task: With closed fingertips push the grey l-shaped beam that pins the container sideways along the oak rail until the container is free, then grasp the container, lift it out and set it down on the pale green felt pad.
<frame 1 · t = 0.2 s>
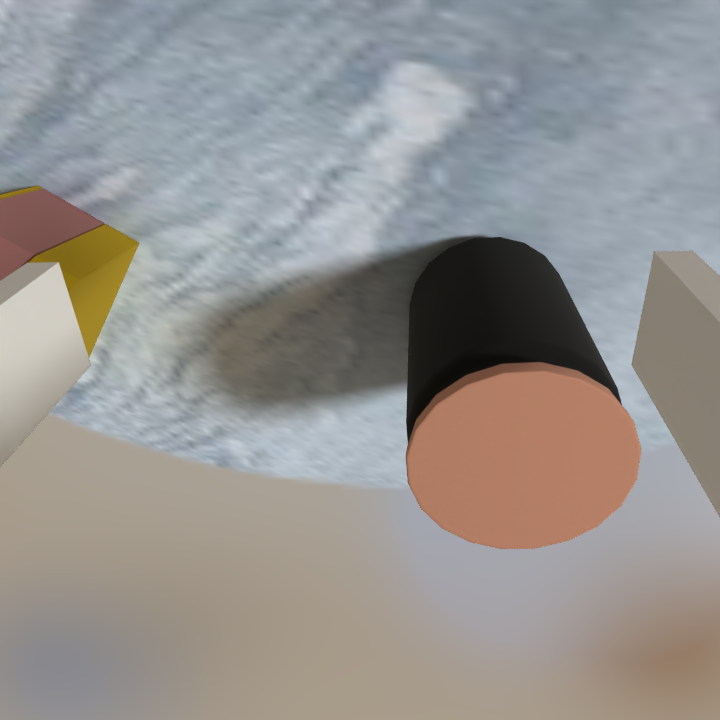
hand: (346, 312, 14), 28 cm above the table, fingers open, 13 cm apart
coffee jar: (484, 301, 44), on the table
alarm clock: (62, 274, 46), on the table
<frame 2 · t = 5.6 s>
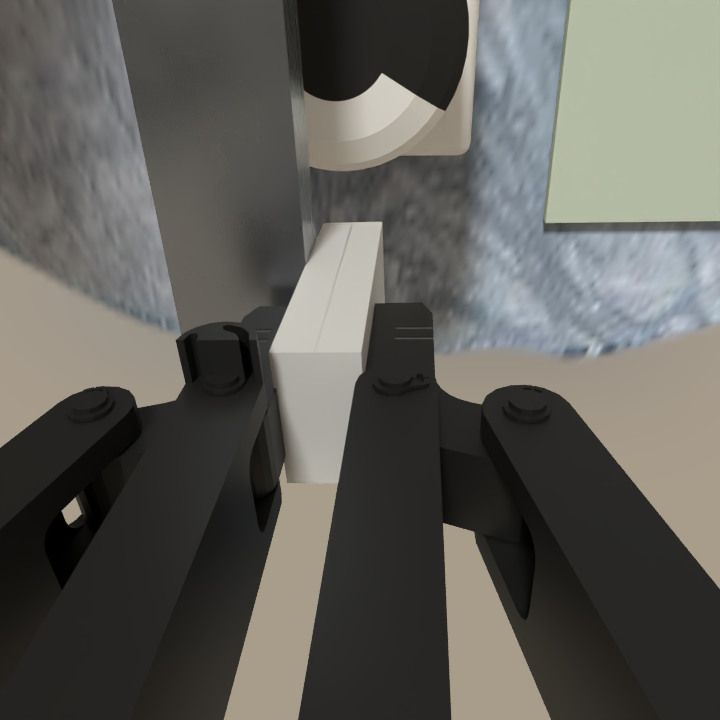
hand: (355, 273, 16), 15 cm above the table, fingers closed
pad: (674, 103, 26), on the table
grey l-shaped beam: (282, 22, 17), point 10 cm above the table, slide at 1.8 cm, touching gripper
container: (371, 23, 26), on the table
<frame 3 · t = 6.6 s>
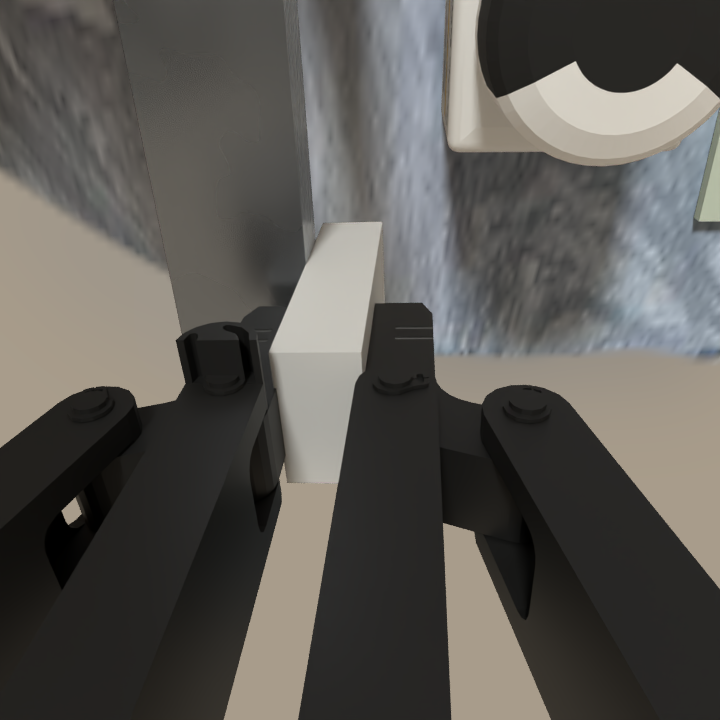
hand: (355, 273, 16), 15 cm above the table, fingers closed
grey l-shaped beam: (282, 23, 17), point 10 cm above the table, slide at 8.8 cm, touching gripper
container: (538, 17, 26), on the table
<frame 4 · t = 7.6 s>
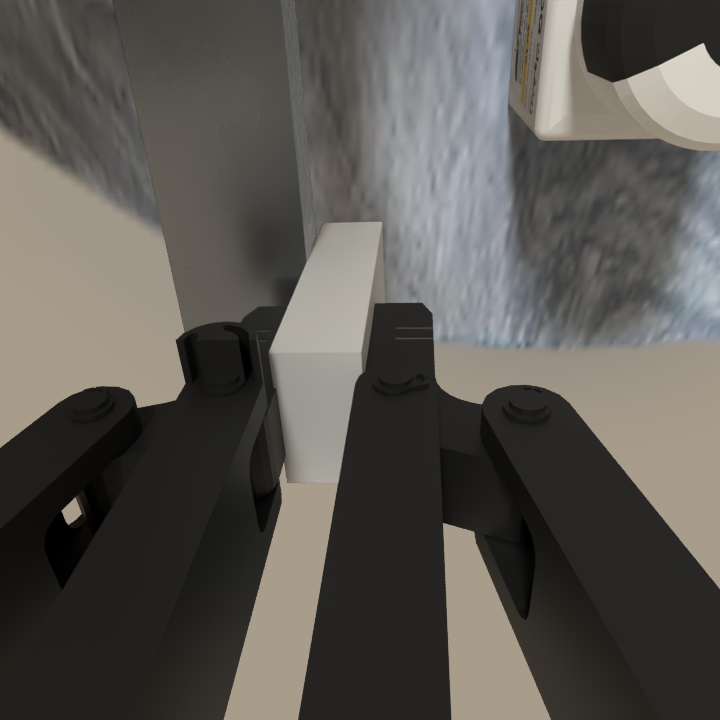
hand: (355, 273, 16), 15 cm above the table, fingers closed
grey l-shaped beam: (280, 15, 17), point 10 cm above the table, slide at 11.7 cm, touching gripper
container: (609, 4, 25), on the table
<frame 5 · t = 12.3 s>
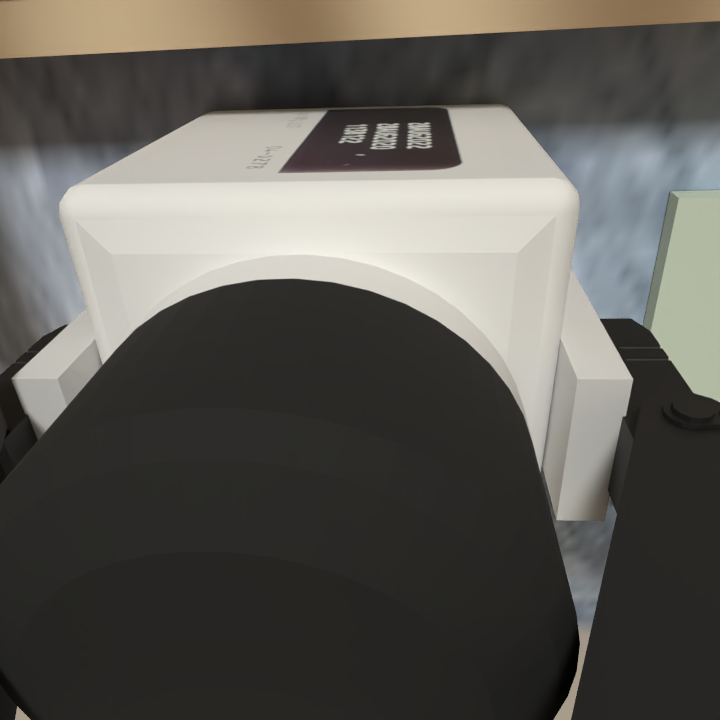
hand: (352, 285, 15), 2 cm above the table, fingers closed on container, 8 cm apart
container: (360, 250, 17), on the table, touching gripper
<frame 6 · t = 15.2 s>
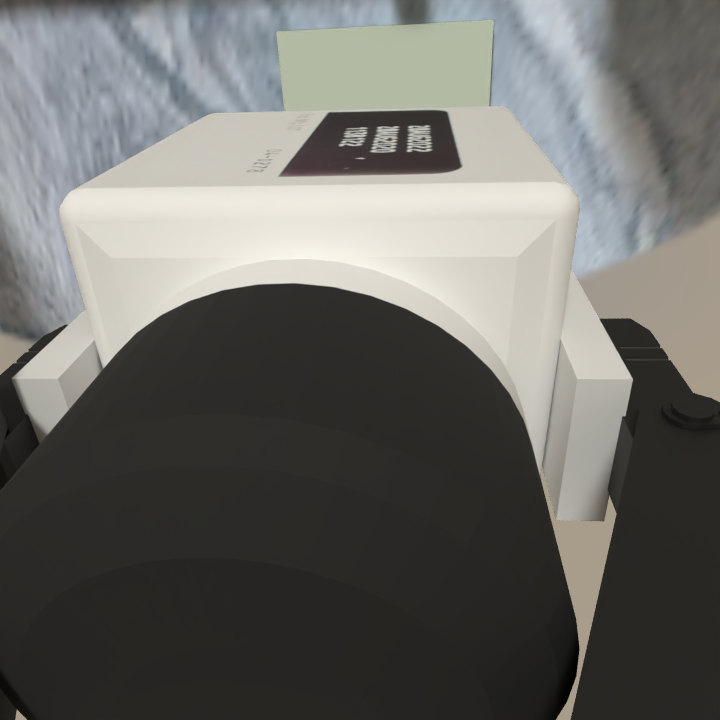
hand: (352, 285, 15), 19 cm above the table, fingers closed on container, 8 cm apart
pad: (386, 137, 31), on the table
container: (360, 252, 17), point 16 cm above the table, touching gripper
when the fingers open (4 cm above the table, at t = 18.2 s): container drops 1 cm, resting on pad.
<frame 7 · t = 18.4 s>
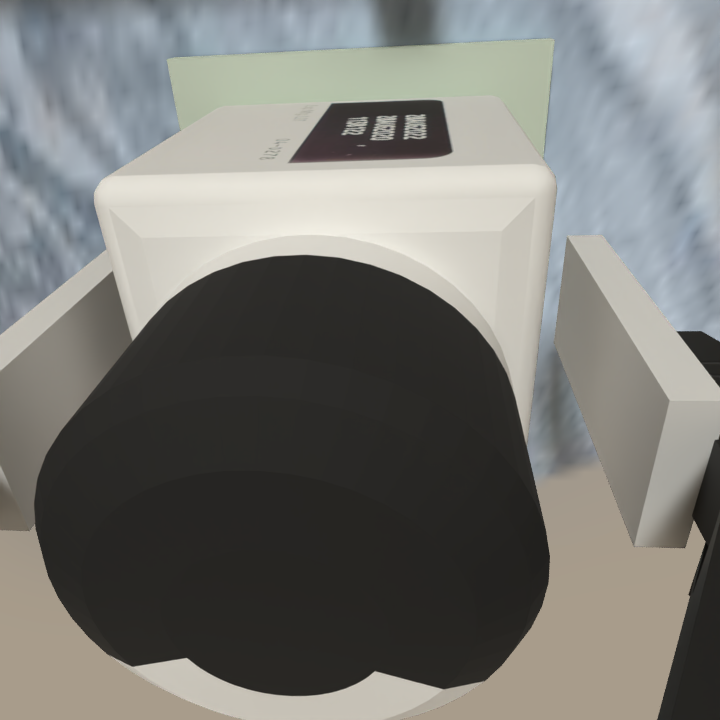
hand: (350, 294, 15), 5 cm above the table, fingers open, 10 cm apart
pad: (365, 230, 19), on the table
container: (363, 235, 18), resting on pad
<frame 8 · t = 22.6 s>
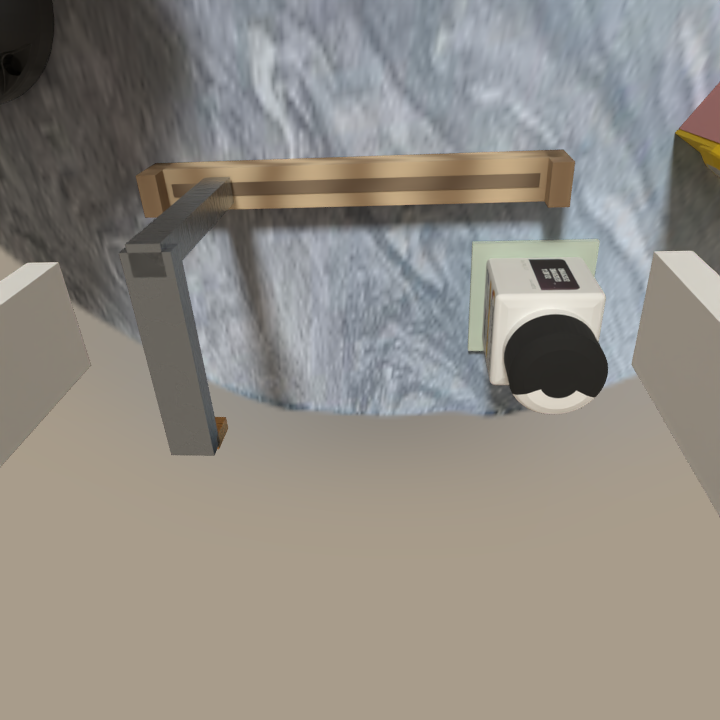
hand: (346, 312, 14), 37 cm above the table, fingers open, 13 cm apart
pad: (529, 296, 53), on the table
grey l-shaped beam: (205, 309, 44), point 10 cm above the table, slide at 11.7 cm
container: (529, 298, 52), resting on pad
rail: (353, 177, 49), on the table
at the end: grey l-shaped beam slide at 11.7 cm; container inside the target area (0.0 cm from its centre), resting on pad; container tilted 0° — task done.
